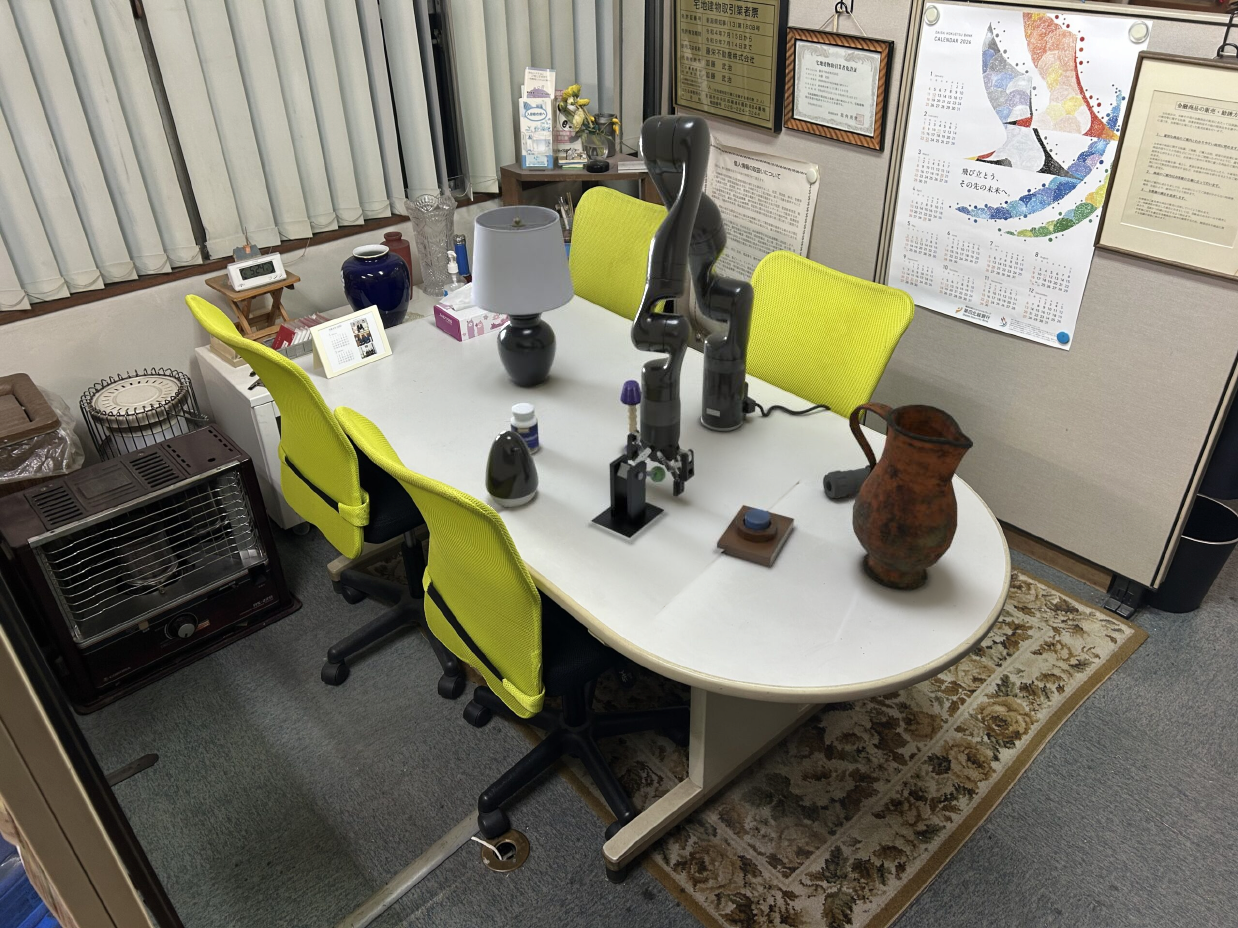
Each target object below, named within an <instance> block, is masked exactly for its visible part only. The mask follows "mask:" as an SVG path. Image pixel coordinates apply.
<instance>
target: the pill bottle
mask: <svg viewBox="0 0 1238 928" xmlns="http://www.w3.org/2000/svg"><path fill="white" fill-rule="evenodd" d="M511 415H512V417H510V431H514V432H516V433H518V434H519V435H520V436H521V437H522V438H523V440H524V441H525V443H526V444H527V446H528V448H529V450H530V452H531V455H532V454H534V453H536V452H537V451H538V450H539V448H540V437H539V421H538V417H537V415H536V414H535V407H534V405H533V404H531V403H528V402H520V403H517V404H514V405H513V406H512V407H511Z"/></svg>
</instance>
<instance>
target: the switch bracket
mask: <svg viewBox="0 0 1238 928" xmlns="http://www.w3.org/2000/svg"><path fill="white" fill-rule="evenodd" d="M621 463H629V460H628V455H627V453H622V454H621V455H620V456H618V457H617V458H616V459H614V460H612V461H611V462H610V463H609V497H610V498H609V500H610V501H609V502H610V503H609V504H610V506H609V507H607V508H605V510H603V511H602V512H601V513H599V514H598V515H596V516H595V517H594V518H592V520H591V522H592V523H594V524H597V525H599V526H601V527H603V528H605V529H608V530H611V531H612V532H615V533H616V534H619V535H622V536H624V537H626V538H628V539H631V538H632V537H633V536H635V535H636V534H637V533H638V532H640V531H641V530H642V529H643V528H644V527H646V526H647V525H649V523H651V522H652V521H654V519H656V518H657V517H658V516H659V515H661V514H662V513H663V512H664V511H665V509H664V508H661V507H660V506H657V505H654V504H652V503H649V502H647V501H646V500H647V499H646V497H647V492H646V491H647V487H646V486H647V478H646V463H647V462H646V461H642V460H641V461H640V462H639V463H637V464H636V465H635V464H633V465H634V466H633V467H632V468H630V469H629V470H627V479H626V478H623V477H621V476H618V475H617V474H618V471H619V467H620V464H621Z"/></svg>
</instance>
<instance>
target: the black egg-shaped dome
mask: <svg viewBox="0 0 1238 928" xmlns="http://www.w3.org/2000/svg"><path fill="white" fill-rule="evenodd" d="M485 466H486V467H485V476H484V477H485V478H484V480H485V481H484V482H485V489H486V491H487V493H488V494H489V496H490V498H491V499H492V500H493V502H495V503H496V504H497V505H499V506H501V507H504V508H514V507H520V506H523V505H525V504H527V503H530V501H531V500H532V499H533V498H534V496H535V495H536V492H537V490H538V487H539V484H540V483H539V475H538V470H537V466H536V463H535V461H534V457H533V455H532V454H531V452H530V450H529V448H528V446H527V444H526V443H525V441H524V440H523V438H522V437H521V436H520V435H519V434H518V433H516V432H514V431H511V430H504V431H502V432H500V433H499V434H497V435H496V437H495V438H494V440H493V442H492V444H491V446H490V448H489V452H488V455H487V460H486V465H485Z"/></svg>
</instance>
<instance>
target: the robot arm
mask: <svg viewBox="0 0 1238 928" xmlns="http://www.w3.org/2000/svg"><path fill="white" fill-rule="evenodd" d="M711 135H712V134H711V129H710V126H709V123H708V122H707V120H706V118H704V117H703V116H701V115H687V114H685V115H684V114H661V115H660V114H659V115H653V116H650V117H648V118H647V119H645V121H644V122H643V124H642V126H641V127H640V132H639V148H640V153H641V157H642V160H643V163H644V165H645V168H646V170H647V173H648V175H649V176H650V179H651V180H652V183H653V184H654V186H655V188H656V190H657V192H658V194H659V196H660V197H661V199H662V203H663V204H664V207H665V209H666V211H667V215H666V216H665V218H664V219H663V220H662V222H661V224H659V226H658V228H657V230H656V231H655V233H654V235H653V236H652V238H651V241H650V244H649V248H648V252H647V262H646V272H645V283H644V289H643V293H642V296H641V300H640V303H639V305H638V308H637V311H636V314H635V315H634V319H633V321H632V325H631V328H630V340H631V343H632V345H633V346H634V348H635V349H636V350H638V351H641V352H647V353H656V354H657V353H658V354H666V355H668V356H667V357H662V358H655V359H650V360H648V361H646V362H645V363H644V364H643V365H642V368H641V375H640V378H641V379H640V381H641V385H640V389H641V401H640V404H639V429H638V428H637V429H636V430H634V431H633V432H631V433H630V434H629V433H628V434H627V438H626V445H627V451H626V455H628V462H629V461H630V462H631V461H632V462H633V465H636V464H637V463H639V462H640V461H641V460H642V461H645V462H646V461H647V460H648V459H649V461H650V462H653V463H657V464H659V466H662V467H664V469H665V471H666V472H667V473H670V475H671V477H672V478H673V480H672V496H673V497H676V498H677V497H679V496H681V495H682V494H683V493H684V491H685V483H687V482H688V481H689V480H691V479H692V478H694V476H695V452H694V450H693V449H692V448H689V449H687V450H686V449H682V448H681V447H680V446H681V445H680V443H679V441H680V438H681V417H682V416H681V414H682V413H681V412H682V403H681V402H682V401H681V394H680V393H681V372H682V367H683V362H684V358H685V356H686V352H687V350H688V347H689V344H690V341H691V339H692V333H693V332H692V331H693V330H692V329H693V328H692V325H691V323H690V320H689V319H688V318H687V317H686V316H685V315H683V314H680V313H670V312H669V313H668V312H660V311H659V312H658V311H656V308H657V307H658V305H659V304H660V303H661V302H663V301H664V302H665V301H671V300H673V301H674V300H679V299H681V298H683V297H684V296H685V294H686V293H685V292H686V285H687V276H688V273H689V276H690V280H691V283H692V288H693V289H692V290H693V292H694V293H693V294H694V297H695V303H696V306H697V309H698V311H699V313H700V315H701V316H702V317H703V318H705V319H707V320H709V321H712V322H717V323H720V324H721V323H722V324H727V325H728V329H726V330H719V331H715V332H713V333H710V334H708V335H707V336H706V337H705V339H704V342H703V343H704V344H703V364H702V365H703V366H702V367H703V369H702V387H701V388H702V391H701V392H702V393H701V412H700V414H701V415H700V423H701V424H702V426H704V427H705V428H707V429H709V430H712V431H715V432H716V431H717V432H730V431H731V432H732V431H735V430H737V429H739V428H741V427H742V425H743V424H744V423H745V422H746V421H747V415H750V414H753V413H756V407H757V408H758V409H759V411H760V414H761V415H762V417H767V418H768V416H769V415H770V414H771V412H772V411H773V410H777V409H778V410H782V411H784V412H785V413H788V414H791V415H805V414H808V413H810V412H813V411H815V410H818V409H826V411H831V410H832V408H831V407H830V406H829V405H827V404H824V403H823V404H822V403H820V404H816V405H813V406H811V407H809V408H807V409H803V410H793V409H789V408H788V407H785V406H783V405H780V404H779V405H778V404H774V405H771V406H770V407H768V408H767V410H766V411H765V408H764V407H763V406H762V405H761V404H760V403H758V402H757V401H756V400H755V399H753V398H751V397H750V396H749V382H747V381H746V375H747V362H748V360H747V359H748V348H749V342H750V338H751V332H752V331H751V329H752V322H753V314H754V306H755V289H754V286H753V284H752V283H751V282H749V281H746V280H741V279H736V278H732V277H726V276H722V275H720V274H719V273H718V272H717V270H716V267H715V265H716V264H717V263H718V262H719V260H720V258H721V257H722V255H723V254H724V251H725V250H726V247H727V243H728V233H727V232H728V231H727V228H726V226H725V222H724V218H723V215H722V212H721V210H720V208H719V205H717V203H716V202H715V201H714V200H713V198H712V197H710V196H709V195H708V194H707V193H706V192H705V191H704V190H703V189H704V184H705V181H706V175H707V171H708V166H709V161H710V155H711V147H712V136H711ZM639 444H640V445H641V446H642V449H643V451H641V453H640V451H639ZM672 462H673V464H671V463H672ZM646 470H648V463H647V462H646ZM647 478H648V476H646V479H647Z"/></svg>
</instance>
